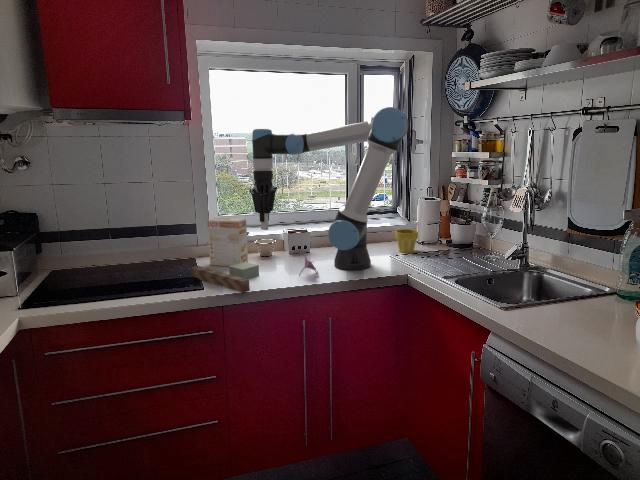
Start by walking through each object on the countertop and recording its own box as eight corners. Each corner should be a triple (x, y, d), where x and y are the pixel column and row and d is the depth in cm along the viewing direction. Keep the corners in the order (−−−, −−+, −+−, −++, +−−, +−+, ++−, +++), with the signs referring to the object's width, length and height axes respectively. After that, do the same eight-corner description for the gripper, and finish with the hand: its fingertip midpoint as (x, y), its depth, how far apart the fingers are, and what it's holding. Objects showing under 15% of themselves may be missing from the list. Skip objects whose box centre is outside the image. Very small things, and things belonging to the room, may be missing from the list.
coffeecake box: (248, 263, 192) (246, 218, 188) (240, 267, 185) (237, 221, 181) (219, 261, 197) (216, 217, 193) (209, 264, 191) (206, 219, 187)
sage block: (259, 276, 174) (258, 265, 173) (243, 281, 168) (242, 269, 167) (245, 272, 179) (244, 261, 178) (229, 277, 173) (228, 266, 172)
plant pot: (400, 254, 204) (401, 233, 202) (391, 249, 214) (391, 229, 212) (421, 253, 207) (422, 232, 205) (411, 248, 217) (412, 228, 215)
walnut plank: (249, 290, 156) (249, 279, 155) (242, 292, 154) (242, 281, 153) (198, 275, 175) (197, 265, 174) (191, 277, 173) (190, 267, 172)
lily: (312, 284, 166) (324, 260, 166) (285, 270, 168) (296, 247, 169) (318, 284, 178) (329, 262, 178) (292, 271, 180) (303, 249, 180)
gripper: (268, 168, 181) (269, 226, 186) (243, 170, 172) (245, 230, 177) (281, 169, 177) (282, 228, 182) (257, 170, 167) (258, 233, 172)
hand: (264, 229), depth 179 cm, fingers closed
